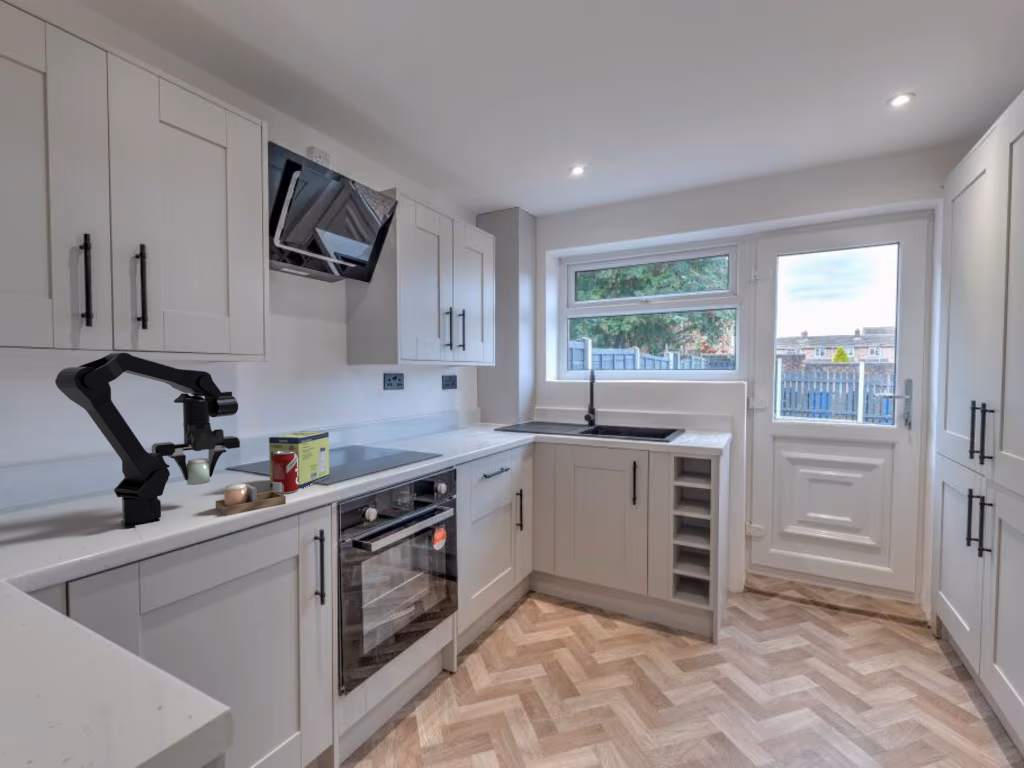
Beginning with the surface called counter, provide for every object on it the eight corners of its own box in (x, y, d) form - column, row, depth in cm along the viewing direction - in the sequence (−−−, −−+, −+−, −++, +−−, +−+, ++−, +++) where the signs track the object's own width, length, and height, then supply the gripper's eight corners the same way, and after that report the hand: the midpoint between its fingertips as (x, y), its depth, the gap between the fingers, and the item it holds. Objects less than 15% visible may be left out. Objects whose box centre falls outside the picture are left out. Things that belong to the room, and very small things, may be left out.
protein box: (269, 488, 144) (267, 437, 144) (302, 477, 160) (301, 430, 159) (299, 490, 142) (298, 438, 142) (330, 478, 157) (329, 431, 157)
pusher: (252, 508, 121) (252, 488, 121) (243, 503, 126) (243, 484, 126) (257, 507, 122) (256, 488, 122) (248, 502, 127) (247, 483, 126)
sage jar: (189, 485, 122) (188, 462, 122) (184, 482, 126) (184, 460, 126) (212, 482, 126) (211, 459, 126) (206, 479, 129) (206, 457, 129)
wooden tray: (225, 517, 116) (225, 507, 116) (215, 510, 122) (215, 500, 122) (285, 505, 126) (285, 496, 126) (273, 499, 132) (273, 490, 132)
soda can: (280, 497, 134) (279, 454, 134) (268, 493, 138) (267, 452, 138) (303, 492, 140) (302, 451, 139) (291, 488, 144) (290, 449, 143)
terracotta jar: (228, 513, 118) (227, 489, 118) (222, 509, 121) (221, 485, 121) (250, 508, 122) (249, 485, 121) (243, 505, 125) (243, 482, 125)
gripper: (159, 424, 113) (161, 490, 114) (245, 418, 126) (247, 477, 127) (150, 421, 121) (152, 483, 121) (232, 415, 134) (234, 471, 135)
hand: (198, 478), depth 126 cm, fingers closed on sage jar, 5 cm apart
